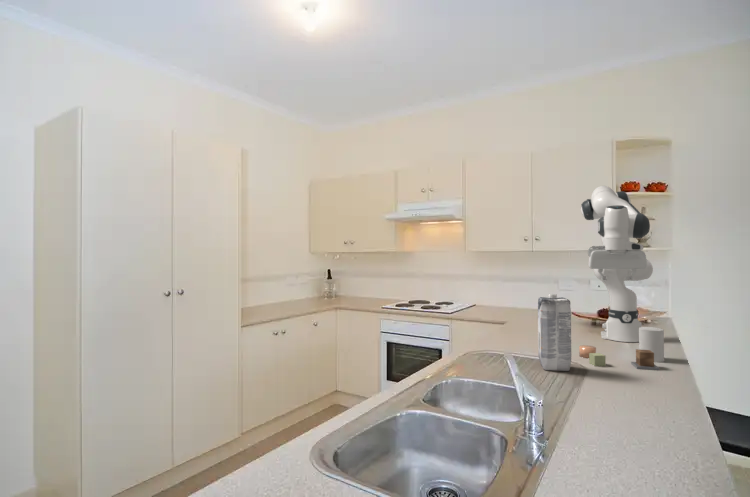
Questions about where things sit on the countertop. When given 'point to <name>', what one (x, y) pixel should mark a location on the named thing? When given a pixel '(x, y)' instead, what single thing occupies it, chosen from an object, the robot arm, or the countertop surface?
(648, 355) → the walnut block
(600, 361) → the olive block
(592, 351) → the peach glossy ball
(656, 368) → the slate coaster
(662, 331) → the cup
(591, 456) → the countertop surface
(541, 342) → the juice carton
